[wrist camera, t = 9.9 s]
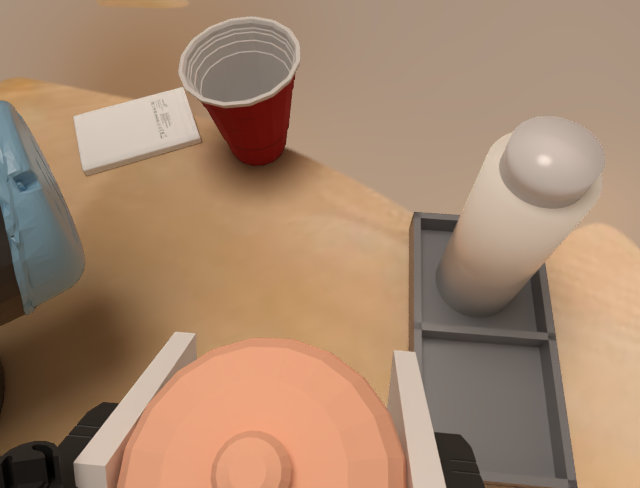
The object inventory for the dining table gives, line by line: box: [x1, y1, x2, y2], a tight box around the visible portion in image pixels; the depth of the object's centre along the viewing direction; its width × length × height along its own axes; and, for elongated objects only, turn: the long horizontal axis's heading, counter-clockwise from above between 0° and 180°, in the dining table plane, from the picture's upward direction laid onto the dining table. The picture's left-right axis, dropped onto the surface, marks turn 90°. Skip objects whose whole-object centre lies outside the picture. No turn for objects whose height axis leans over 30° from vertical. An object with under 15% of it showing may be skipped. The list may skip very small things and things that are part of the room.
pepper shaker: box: [117, 338, 407, 488], centre depth 18 cm, size 7×7×19 cm
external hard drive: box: [74, 87, 201, 176], centre depth 53 cm, size 2×8×12 cm
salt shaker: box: [435, 116, 605, 318], centre depth 35 cm, size 7×7×18 cm
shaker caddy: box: [409, 212, 578, 488], centre depth 40 cm, size 11×22×3 cm, turn 175°
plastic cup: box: [178, 16, 300, 166], centre depth 47 cm, size 11×11×12 cm
